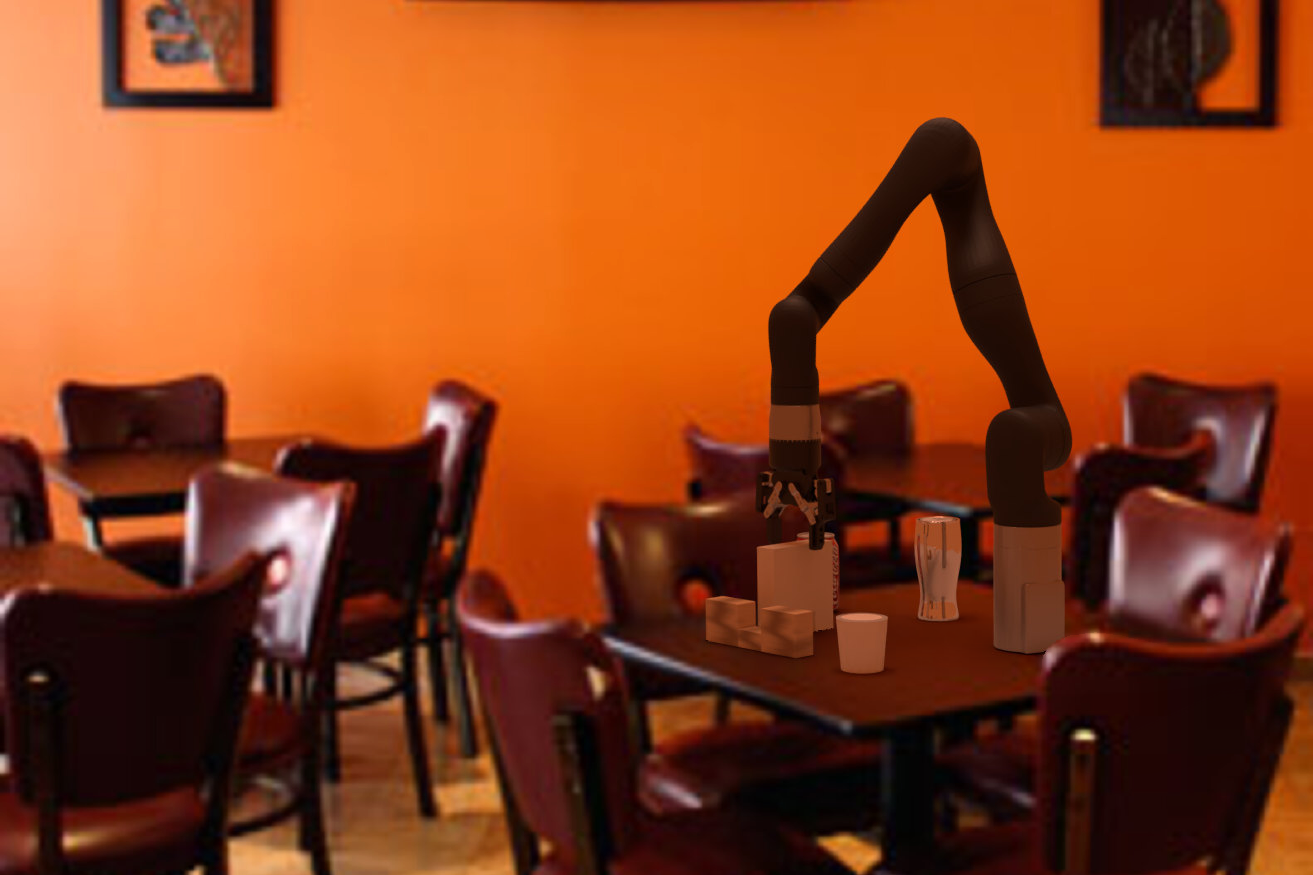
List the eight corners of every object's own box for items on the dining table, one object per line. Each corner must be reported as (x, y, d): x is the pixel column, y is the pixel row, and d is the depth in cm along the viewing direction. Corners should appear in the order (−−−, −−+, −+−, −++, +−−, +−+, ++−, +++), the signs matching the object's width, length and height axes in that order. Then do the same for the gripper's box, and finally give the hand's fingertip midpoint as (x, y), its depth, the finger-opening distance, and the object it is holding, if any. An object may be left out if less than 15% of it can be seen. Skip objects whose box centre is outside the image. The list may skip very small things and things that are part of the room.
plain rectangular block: (833, 628, 279) (832, 540, 278) (774, 639, 272) (773, 549, 270) (816, 625, 282) (815, 538, 281) (758, 636, 274) (757, 546, 273)
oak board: (813, 654, 260) (812, 611, 260) (795, 658, 258) (795, 614, 258) (723, 637, 274) (723, 595, 273) (706, 640, 272) (705, 598, 271)
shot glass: (854, 661, 255) (854, 609, 255) (898, 667, 251) (898, 615, 250) (825, 670, 250) (825, 617, 249) (869, 676, 246) (869, 622, 245)
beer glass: (964, 621, 283) (964, 521, 281) (917, 622, 283) (917, 522, 281) (958, 613, 289) (957, 515, 288) (912, 614, 290) (911, 516, 288)
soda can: (839, 607, 296) (839, 531, 295) (839, 615, 289) (838, 537, 288) (794, 607, 297) (793, 531, 296) (793, 615, 290) (792, 537, 289)
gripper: (848, 437, 272) (848, 549, 273) (779, 430, 282) (779, 538, 284) (811, 440, 267) (811, 555, 268) (742, 433, 278) (742, 543, 279)
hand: (795, 546), depth 276 cm, fingers open, 8 cm apart
